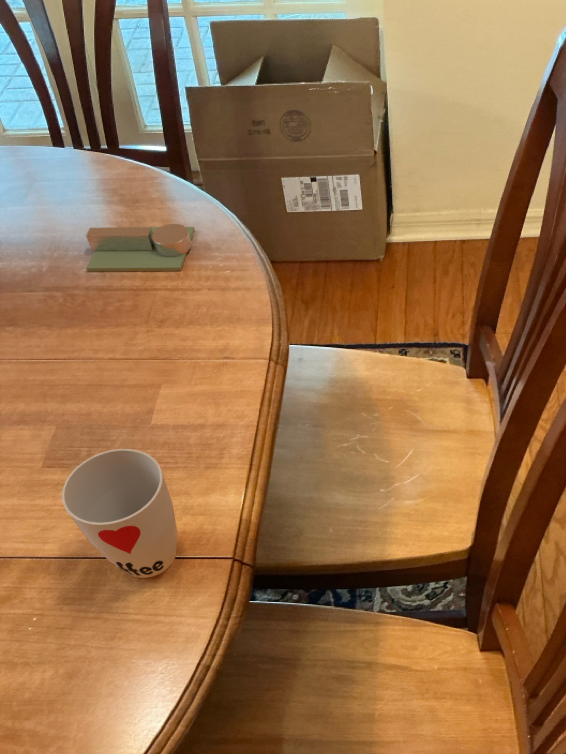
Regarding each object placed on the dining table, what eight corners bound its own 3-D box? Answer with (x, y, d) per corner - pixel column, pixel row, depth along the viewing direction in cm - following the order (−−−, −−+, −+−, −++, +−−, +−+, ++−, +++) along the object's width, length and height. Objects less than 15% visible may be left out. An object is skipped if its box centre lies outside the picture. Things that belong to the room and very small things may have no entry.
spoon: (88, 257, 98) (82, 242, 96) (98, 236, 101) (92, 221, 99) (187, 257, 97) (182, 241, 96) (194, 236, 100) (190, 220, 98)
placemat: (87, 271, 97) (86, 268, 97) (106, 230, 102) (104, 227, 102) (181, 270, 97) (180, 267, 96) (194, 230, 102) (194, 226, 101)
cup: (87, 578, 69) (41, 510, 61) (133, 511, 74) (96, 439, 66) (166, 602, 68) (129, 535, 60) (208, 531, 72) (180, 460, 64)
